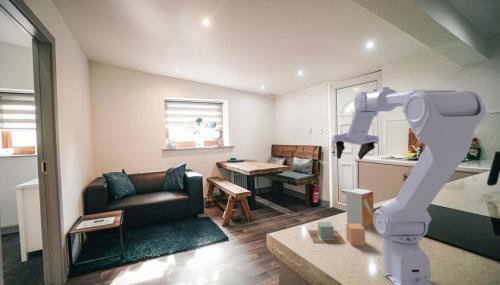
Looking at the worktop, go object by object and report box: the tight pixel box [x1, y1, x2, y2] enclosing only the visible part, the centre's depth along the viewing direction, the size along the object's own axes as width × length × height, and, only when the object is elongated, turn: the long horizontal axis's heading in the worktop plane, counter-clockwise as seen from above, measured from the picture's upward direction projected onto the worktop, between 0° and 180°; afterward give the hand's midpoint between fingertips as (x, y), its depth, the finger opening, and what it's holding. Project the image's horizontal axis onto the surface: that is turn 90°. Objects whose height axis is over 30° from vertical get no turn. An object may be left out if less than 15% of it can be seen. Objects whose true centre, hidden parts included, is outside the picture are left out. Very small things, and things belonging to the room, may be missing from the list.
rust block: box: [345, 223, 366, 247], centre depth 66 cm, size 4×4×6 cm
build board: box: [307, 229, 347, 245], centre depth 71 cm, size 10×10×1 cm
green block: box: [317, 221, 334, 239], centre depth 71 cm, size 4×4×4 cm
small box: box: [345, 188, 375, 228], centre depth 82 cm, size 8×6×13 cm
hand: (348, 157), depth 78 cm, fingers open, 7 cm apart
